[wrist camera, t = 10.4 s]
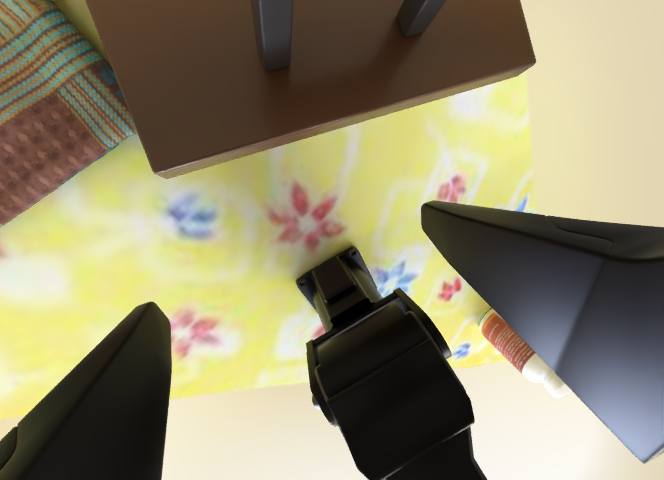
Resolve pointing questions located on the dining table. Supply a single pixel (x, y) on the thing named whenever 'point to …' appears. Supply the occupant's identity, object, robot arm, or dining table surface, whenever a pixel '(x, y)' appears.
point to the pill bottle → (521, 354)
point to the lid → (294, 66)
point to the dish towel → (51, 104)
